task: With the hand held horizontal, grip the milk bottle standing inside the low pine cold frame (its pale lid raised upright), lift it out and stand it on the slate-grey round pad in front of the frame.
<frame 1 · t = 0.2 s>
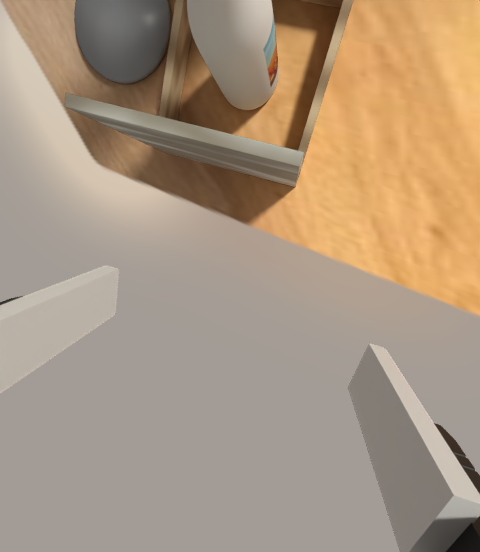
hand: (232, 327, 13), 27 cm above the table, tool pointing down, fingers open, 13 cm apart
pad: (123, 25, 35), on the table
milk bottle: (249, 79, 34), resting in cold frame
cold frame: (249, 79, 34), on the table
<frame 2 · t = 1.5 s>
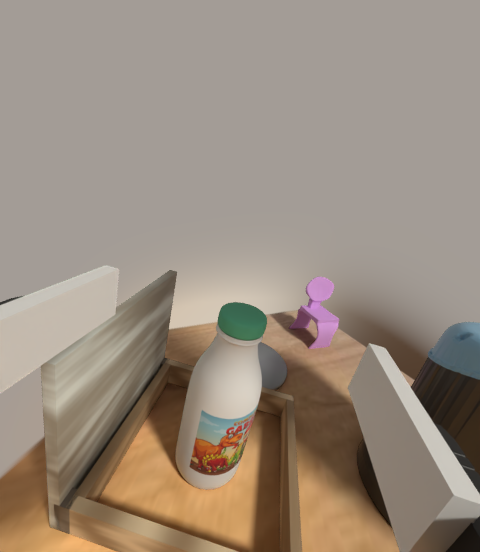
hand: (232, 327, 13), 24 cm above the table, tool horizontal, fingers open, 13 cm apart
toy chair: (308, 338, 63), on the table
pad: (249, 363, 48), on the table
milk bottle: (206, 457, 31), resting in cold frame
cold frame: (207, 456, 31), on the table
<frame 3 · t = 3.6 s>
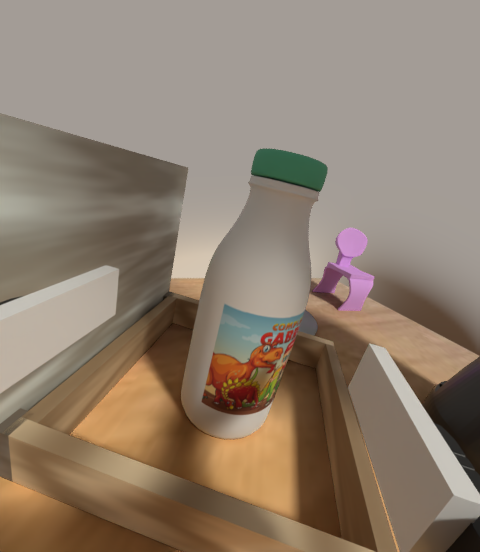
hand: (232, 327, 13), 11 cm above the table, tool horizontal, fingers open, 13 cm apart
toy chair: (335, 301, 54), on the table
pad: (271, 316, 40), on the table
milk bottle: (223, 402, 22), resting in cold frame
cold frame: (224, 401, 22), on the table
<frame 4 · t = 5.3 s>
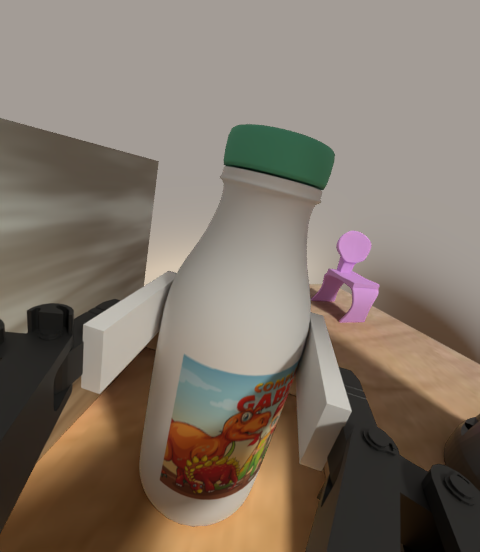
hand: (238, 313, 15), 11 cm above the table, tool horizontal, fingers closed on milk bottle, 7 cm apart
toy chair: (336, 312, 49), on the table
milk bottle: (197, 462, 17), resting in cold frame, touching gripper
cold frame: (198, 459, 17), on the table
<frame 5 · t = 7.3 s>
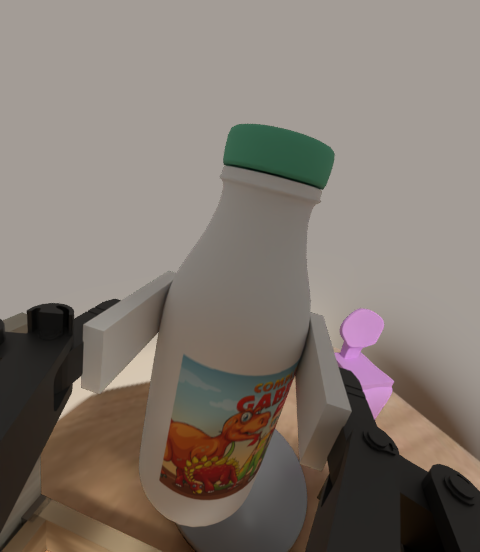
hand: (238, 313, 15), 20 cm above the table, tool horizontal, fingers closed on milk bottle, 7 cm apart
toy chair: (338, 403, 40), on the table
pad: (237, 473, 26), on the table
milk bottle: (197, 462, 17), point 9 cm above the table, touching gripper
when the fingers open (12 cm above the table, at t = 9.7 s): milk bottle stays where it is, resting on pad.
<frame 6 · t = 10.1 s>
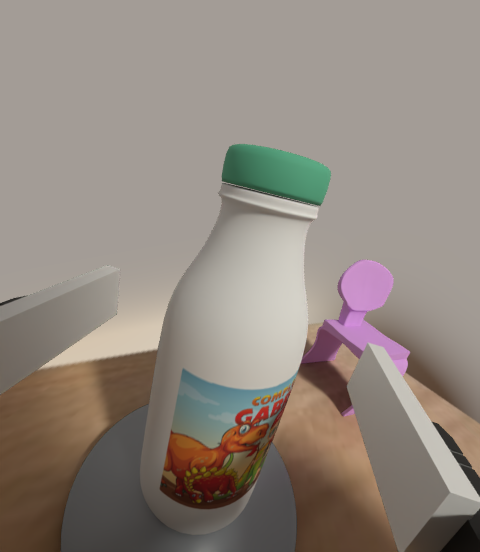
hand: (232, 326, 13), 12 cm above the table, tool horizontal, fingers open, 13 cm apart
toy chair: (337, 385, 31), on the table
pad: (189, 489, 17), on the table
milk bottle: (197, 469, 18), point 1 cm above the table, touching pad
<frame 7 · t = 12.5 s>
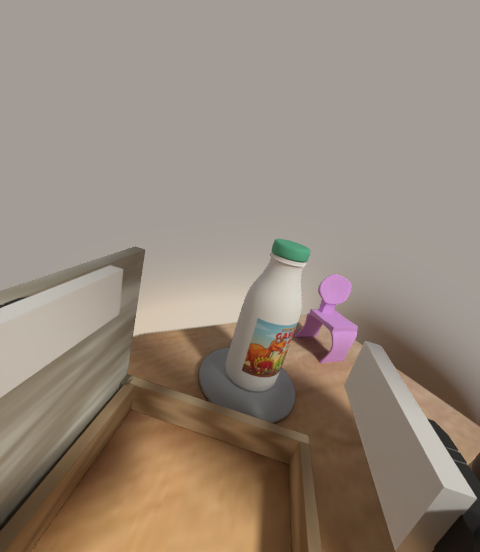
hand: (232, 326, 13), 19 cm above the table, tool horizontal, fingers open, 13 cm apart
toy chair: (318, 349, 51), on the table
pad: (246, 382, 37), on the table
milk bottle: (249, 374, 38), point 1 cm above the table, touching pad
cold frame: (176, 542, 19), on the table
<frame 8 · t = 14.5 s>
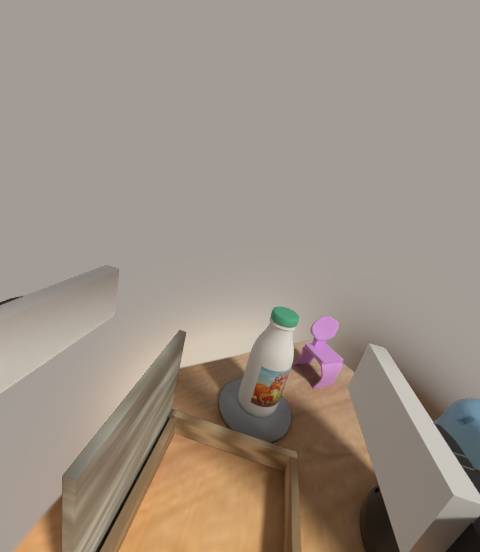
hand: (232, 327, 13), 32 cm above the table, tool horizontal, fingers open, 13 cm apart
toy chair: (312, 375, 63), on the table
pad: (254, 408, 49), on the table
milk bottle: (256, 402, 50), point 1 cm above the table, touching pad
cold frame: (212, 520, 32), on the table
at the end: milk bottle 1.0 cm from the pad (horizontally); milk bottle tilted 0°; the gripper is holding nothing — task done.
